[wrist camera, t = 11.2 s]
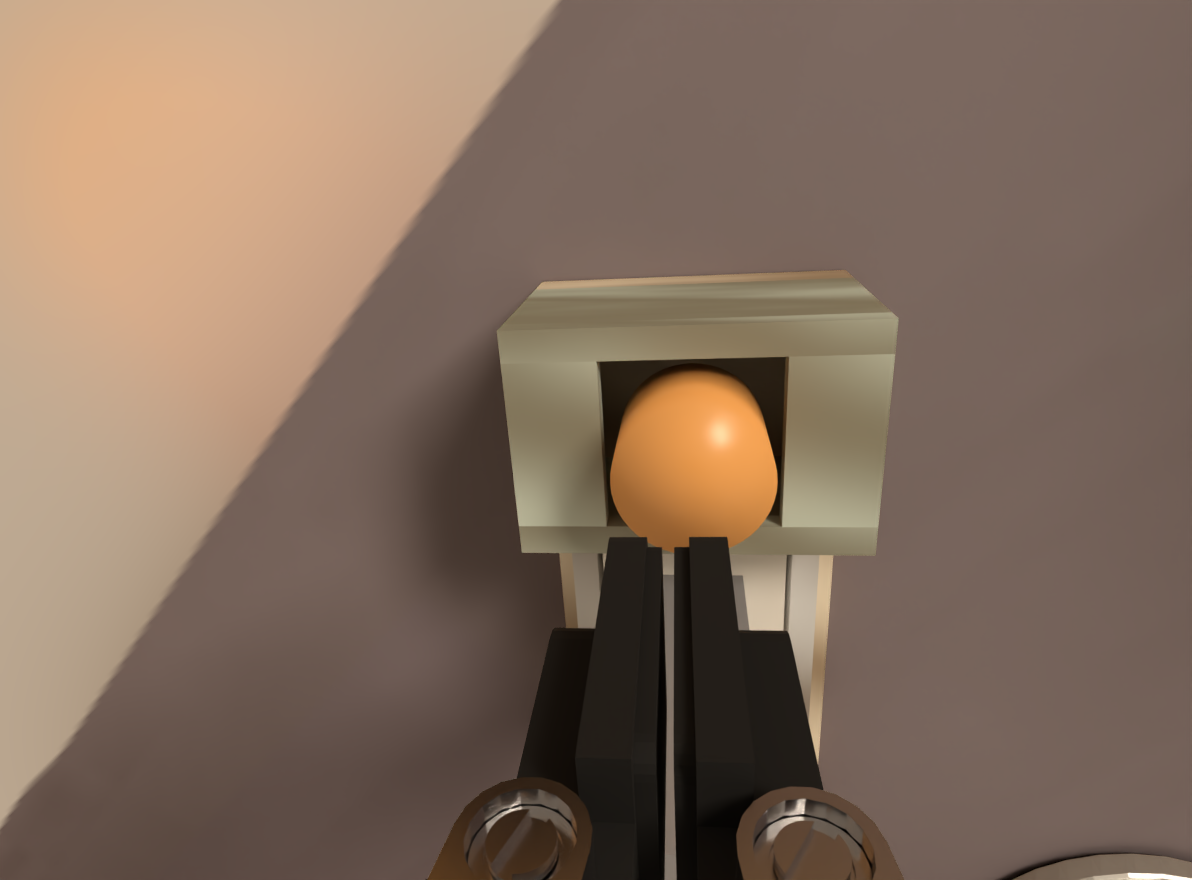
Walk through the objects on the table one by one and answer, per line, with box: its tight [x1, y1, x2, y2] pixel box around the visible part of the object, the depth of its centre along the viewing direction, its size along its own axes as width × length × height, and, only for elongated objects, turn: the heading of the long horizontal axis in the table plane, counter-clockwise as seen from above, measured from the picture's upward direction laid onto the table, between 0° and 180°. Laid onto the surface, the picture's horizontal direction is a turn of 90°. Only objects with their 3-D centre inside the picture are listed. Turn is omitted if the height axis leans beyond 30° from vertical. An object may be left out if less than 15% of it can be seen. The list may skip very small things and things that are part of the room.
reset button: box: [610, 363, 778, 553], centre depth 17 cm, size 4×4×3 cm
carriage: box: [603, 553, 787, 880], centre depth 19 cm, size 5×5×12 cm
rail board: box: [497, 270, 899, 763], centre depth 24 cm, size 26×9×6 cm, turn 3°
